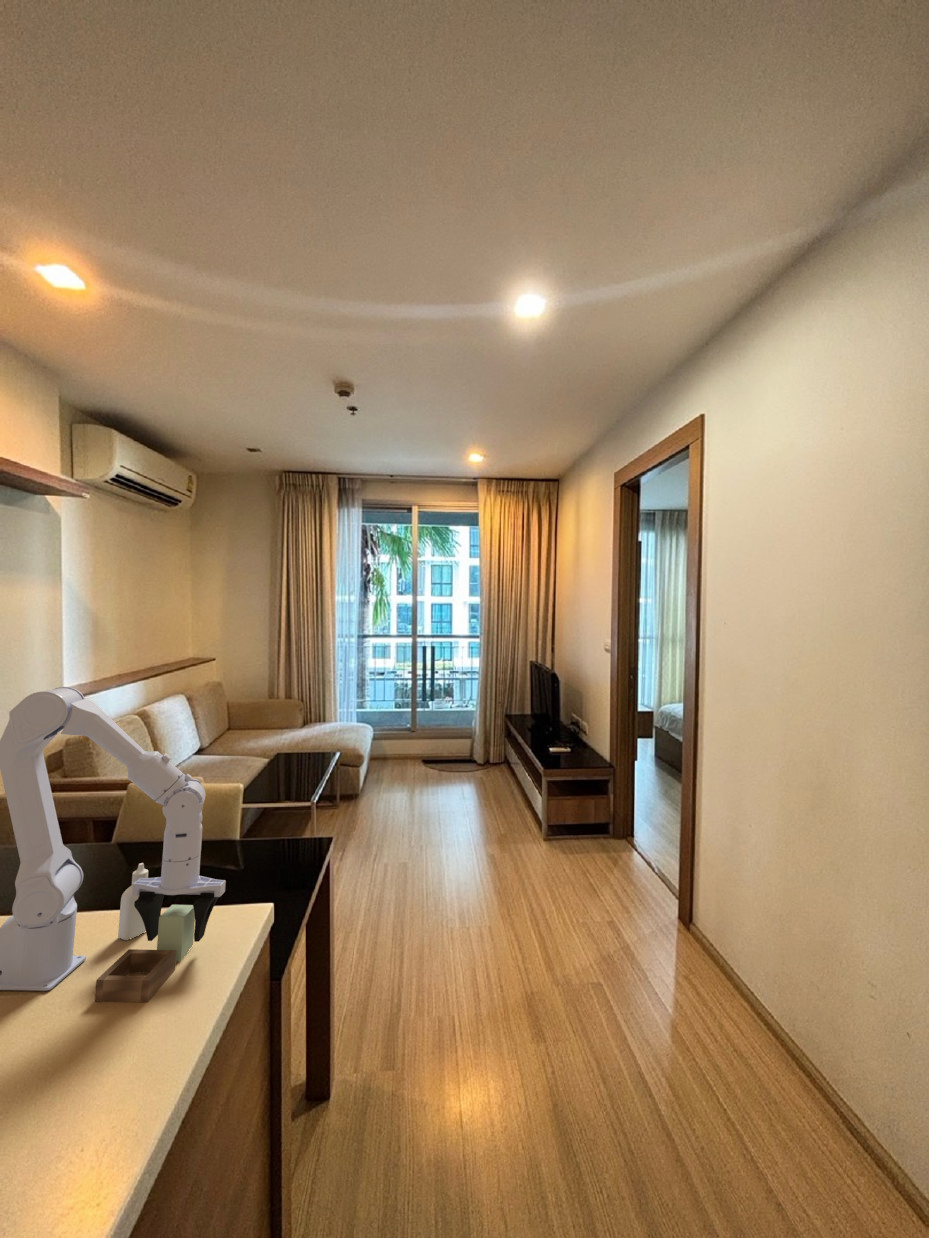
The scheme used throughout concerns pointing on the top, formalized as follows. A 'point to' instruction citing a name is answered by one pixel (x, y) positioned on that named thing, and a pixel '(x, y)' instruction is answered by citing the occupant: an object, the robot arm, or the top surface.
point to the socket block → (135, 988)
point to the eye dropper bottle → (131, 909)
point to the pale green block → (176, 930)
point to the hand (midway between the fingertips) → (176, 937)
